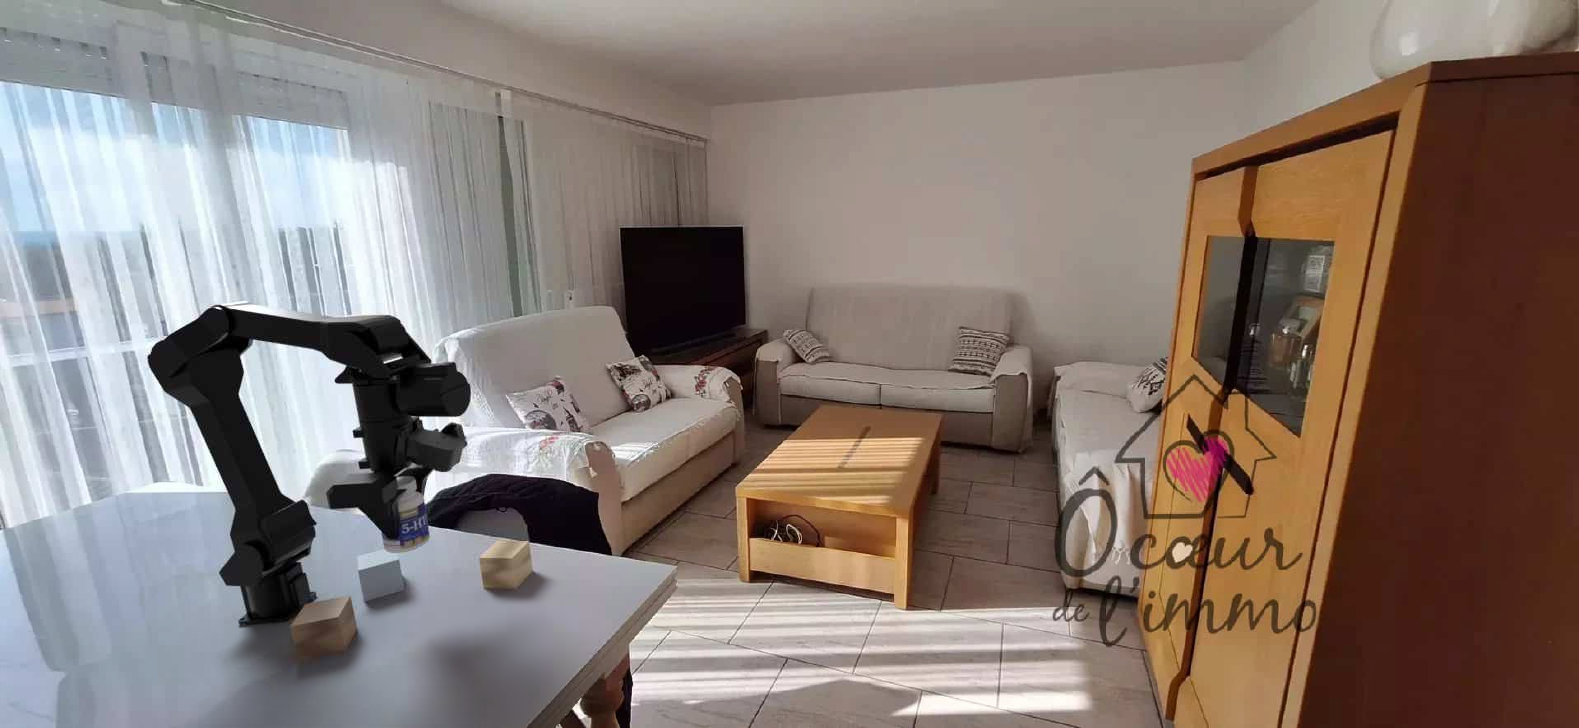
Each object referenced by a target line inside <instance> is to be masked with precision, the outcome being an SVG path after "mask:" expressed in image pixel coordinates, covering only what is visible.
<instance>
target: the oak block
mask: <svg viewBox="0 0 1579 728" xmlns="http://www.w3.org/2000/svg"><path fill="white" fill-rule="evenodd" d="M478 559H479V567H480V572H481V579H482V586H483V587H482V588H483V589H501V588H502V590H504V589H505V588H506V590H507V589H509V590H516V589H517V588H518V587H519V586H520V585H521V584H522V583H523V582H524V581H525V580H526V579H527V578H528V577H529V575H530V574H531V573H532V572H534V571H533V569H534V568H533V562H532V555H531V547H530V540H523V541H522V540H497V541H496V542H494V543H493V544H492V545H491V546H489V548H488V549H487V550H486V551H485V552H483V553H482V554H481V555H480V556H479V557H478ZM524 579H525V580H524Z"/></svg>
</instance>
